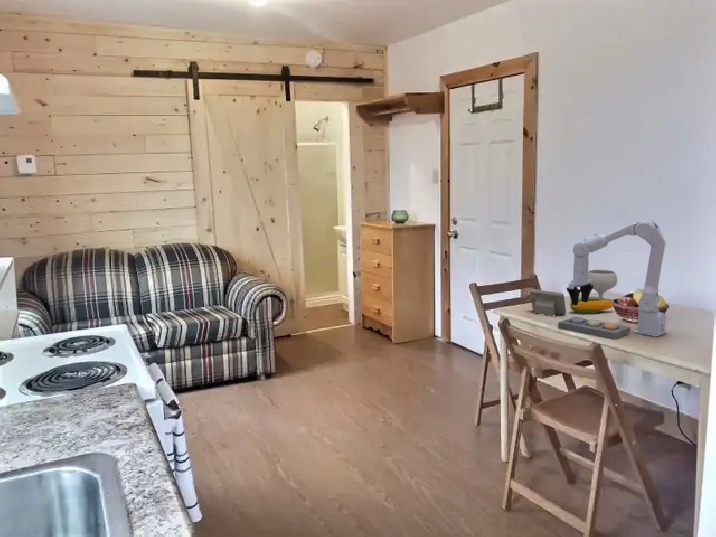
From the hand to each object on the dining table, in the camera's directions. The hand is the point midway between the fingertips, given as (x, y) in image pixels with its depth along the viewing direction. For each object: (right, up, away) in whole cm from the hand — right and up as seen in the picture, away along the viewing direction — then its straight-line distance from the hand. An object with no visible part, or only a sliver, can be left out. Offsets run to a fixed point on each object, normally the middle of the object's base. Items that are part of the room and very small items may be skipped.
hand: (579, 303), depth 256 cm
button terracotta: (+7, -10, -14) cm, 18 cm away
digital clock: (-7, -6, +22) cm, 24 cm away
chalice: (+24, -2, +41) cm, 47 cm away
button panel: (+3, -10, -8) cm, 14 cm away
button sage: (+3, -9, -8) cm, 13 cm away
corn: (+13, -6, +22) cm, 26 cm away
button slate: (-2, -8, -3) cm, 9 cm away
